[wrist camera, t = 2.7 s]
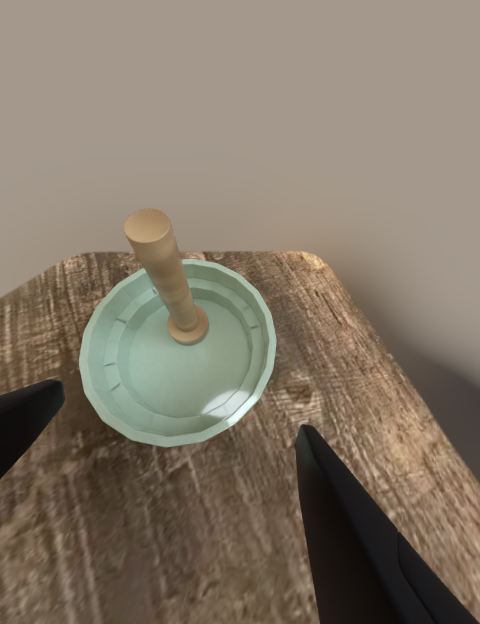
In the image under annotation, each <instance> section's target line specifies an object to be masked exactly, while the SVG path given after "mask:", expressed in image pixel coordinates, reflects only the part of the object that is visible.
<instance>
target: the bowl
mask: <svg viewBox="0 0 480 624" xmlns="http://www.w3.org/2000/svg"><path fill="white" fill-rule="evenodd" d="M182 264H183V267H184V270H185V274H186V277H187V281H188V284H189V288H190V291H191V294H192V298H193V301H194V305H197V306H199V307H201V308H202V309H203V310H204V311H205V313H206V314H207V317H208V322H209V331H208V334H207V336H206V337H205V338H204V339H203V340H202V341H201V342H200V343H198V344H195V345H191V346H185V345H181V344H179V343H178V342H176V341H175V340H174V339H173V337H172V336H171V334H170V333H169V331H168V328H167V321H168V318H169V315H170V313H169V311H168V310H167V308H166V306H165V304H164V303H163V301H162V299H161V297H160V296H159V294H158V292H157V290H156V288H155V287H154V285H153V283H152V281H151V280H150V278H149V276H148V274H147V273H146V271H145V269H144V268H142V269H140V270H139V271H137V272H135V273H134V274H132V275H131V276H129V277H127V278H126V279H124V280H123V281H121V282H119V283H118V284H117V285H116V286H115V287H114V288H113V289H112V290H111V291H110V292H109V293H108V294H107V295H106V296H105V298H104V299H103V300H102V301H101V302H100V303H99V304H98V306H97V307H96V309H95V311H94V313H93V315H92V317H91V318H90V320H89V322H88V324H87V326H86V328H85V330H84V333H83V338H82V345H81V351H80V357H79V367H80V373H81V378H82V383H83V388H84V393H85V395H86V397H87V398H88V400H89V401H90V403H91V404H92V406H93V407H94V409H95V410H96V412H97V414H98V415H99V417H100V418H101V420H103V422H105V423H106V424H108V425H109V426H111V427H112V428H114V429H115V430H117V431H118V432H119V433H121V434H122V435H124V436H125V437H127V438H128V439H130V440H132V441H137V442H142V443H147V444H151V445H156V446H161V447H173V446H179V445H186V444H192V443H199V442H203V441H205V440H207V439H209V438H211V437H213V436H215V435H217V434H218V433H220V432H222V431H224V430H226V429H228V428H230V427H232V426H233V425H235V424H236V423H237V422H238V421H239V420H240V419H241V418H242V417H243V416H244V415H245V414H246V413H247V412H248V411H249V409H250V408H251V407H252V406H253V405H254V404H255V403H256V402H257V401H258V400H259V398H260V396H261V394H262V392H263V390H264V388H265V386H266V384H267V382H268V380H269V377H270V375H271V373H272V371H273V366H274V358H275V350H276V342H277V341H276V335H275V330H274V325H273V320H272V316H271V313H270V311H269V309H268V307H267V306H266V304H265V302H264V301H263V299H262V297H261V295H260V294H259V292H258V291H257V290H256V289H255V288H254V287H253V286H252V285H251V284H250V283H249V282H248V281H246V280H245V279H244V278H243V277H242V276H241V275H240V274H238V273H236V272H234V271H232V270H230V269H228V268H226V267H224V266H222V265H220V264H217V263H212V262H207V261H202V260H196V259H182Z"/></svg>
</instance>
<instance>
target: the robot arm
mask: <svg viewBox="0 0 480 624" xmlns="http://www.w3.org/2000/svg"><path fill="white" fill-rule="evenodd" d="M64 401H65V396H64V388H63V383H62V382H61V381H58V380H52V379H49V380H46V381H43V382H40V383H37V384H34V385H31V386H28V387H25V388H22V389H19V390H16V391H13V392H10V393H7V394H4V395H1V396H0V479H1V478H2V477H3V476H4V475H5V473H6V472H7V471H8V470H9V469H10V468H11V467H12V466H13V465H14V464H15V463H16V461H17V460H18V459H19V458H20V457H21V456H22V455H23V454H24V453H25V452H26V450H27V449H28V448H29V447H30V446H31V445H32V444H33V442H34V441H35V440H36V439H37V437H38V436H39V435H40V434H41V432H42V431H43V430H44V428H45V427H46V426H47V425H48V423H49V422H50V421H51V419H52V418H53V417H54V416H55V414H56V413H57V412H58V411H59V409H60V408H61V407H62V405H63V403H64ZM295 450H296V464H297V478H298V491H299V500H300V506H301V512H302V518H303V524H304V530H305V536H306V542H307V548H308V554H309V560H310V566H311V572H312V578H313V584H314V590H315V596H316V601H317V607H318V613H319V619H320V624H480V623H479V622H478V621H477V620H476V619H475V618H474V617H473V616H472V615H471V614H470V612H469V611H468V610H467V609H466V608H465V607H464V606H463V605H462V604H461V602H460V601H459V600H458V599H457V598H456V597H455V596H454V595H453V593H452V592H451V591H450V590H449V589H448V588H447V587H446V586H445V584H444V583H443V582H442V581H441V580H440V579H439V578H438V577H437V575H436V574H435V573H434V572H433V571H432V570H431V568H430V567H429V566H428V565H427V564H426V563H425V561H424V560H423V559H422V558H421V557H420V555H419V554H418V553H417V552H416V551H415V549H414V548H413V547H412V546H411V545H410V543H409V542H408V541H407V540H406V539H405V537H404V536H403V535H402V534H401V533H400V532H398V529H397V528H396V527H395V525H394V524H393V523H392V522H391V520H390V519H389V518H388V517H387V516H386V514H385V513H384V512H383V511H382V509H381V508H380V507H379V506H378V505H377V503H376V502H375V501H374V500H373V498H372V497H371V496H370V495H369V494H368V492H367V491H366V490H365V489H364V487H363V486H362V485H361V484H360V483H359V481H358V480H357V479H356V478H355V477H354V475H353V474H352V473H351V472H350V470H349V469H348V468H347V467H346V466H345V464H344V463H343V462H342V461H341V459H340V458H339V457H338V456H337V455H336V453H335V452H334V451H333V450H332V448H331V447H330V446H329V445H328V444H327V442H326V441H325V440H324V439H323V437H322V436H321V435H320V434H319V433H318V431H317V430H316V429H315V428H314V427H313V426H311V425H305V424H302V425H301V426H300V429H299V432H298V435H297V439H296V443H295Z"/></svg>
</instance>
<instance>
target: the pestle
mask: <svg viewBox="0 0 480 624" xmlns="http://www.w3.org/2000/svg"><path fill="white" fill-rule="evenodd" d="M123 230H124V233H125V235H126V237H127V239H128V241H129V242H130V244H131V246H132V248H133V249H134V251H135V253H136V255H137V257H138V258H139V260H140V262H141V264H142V265H143V267H144V269H145V271H146V273H147V274H148V276H149V278H150V280H151V281H152V283H153V285H154V287H155V288H156V290H157V292H158V294H159V296H160V297H161V299H162V301H163V303H164V304H165V306H166V308H167V310H168V311H169V313H170V315H169V318H168V321H167V328H168V331H169V333H170V334H171V336H172V337H173V339H174V340H175V341H176V342H178V343H179V344H181V345H185V346H191V345H195V344H198V343H200V342H201V341H202V340H203V339H204V338H205V337H206V336H207V334H208V331H209V322H208V317H207V314H206V313H205V311H204V310H203V309H202V308H201V307H199V306H197V305H194V301H193V298H192V294H191V291H190V288H189V284H188V281H187V277H186V274H185V270H184V267H183V264H182V260H181V257H180V253H179V250H178V247H177V243H176V240H175V236H174V233H173V229H172V226H171V223H170V219H169V218H168V216H167V215H166V214H164V213H163V212H162V211H159V210H156V209H142V210H138V211H136V212H134V213H132V214H131V215H130V216H129V217H128V218H127V219H126V220H125V222H124V226H123Z"/></svg>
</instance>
